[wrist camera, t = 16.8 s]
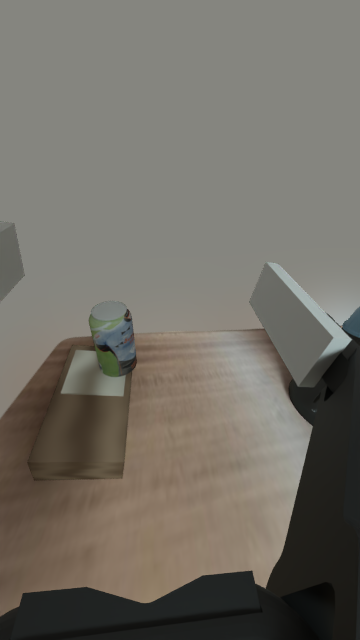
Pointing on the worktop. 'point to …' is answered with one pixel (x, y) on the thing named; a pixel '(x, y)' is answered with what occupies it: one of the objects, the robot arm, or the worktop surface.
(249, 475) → the worktop surface
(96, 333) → the beverage can
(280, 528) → the worktop surface
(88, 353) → the riser
